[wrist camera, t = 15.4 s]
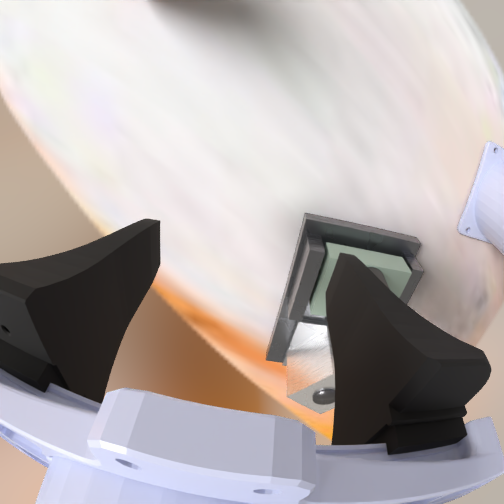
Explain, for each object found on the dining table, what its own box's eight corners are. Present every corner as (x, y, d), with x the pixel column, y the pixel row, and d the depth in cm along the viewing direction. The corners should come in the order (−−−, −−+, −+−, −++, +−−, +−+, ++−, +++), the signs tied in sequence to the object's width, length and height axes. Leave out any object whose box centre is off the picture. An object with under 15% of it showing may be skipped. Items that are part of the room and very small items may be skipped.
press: (416, 237, 20) (432, 260, 18) (352, 362, 28) (356, 387, 25) (304, 212, 20) (308, 234, 18) (266, 352, 28) (264, 379, 25)
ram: (402, 257, 19) (432, 310, 15) (379, 306, 22) (397, 362, 17) (326, 242, 19) (340, 297, 14) (308, 296, 22) (314, 356, 17)
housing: (355, 349, 25) (364, 396, 21) (317, 370, 27) (320, 415, 23) (326, 326, 24) (333, 376, 19) (287, 350, 26) (286, 398, 21)
